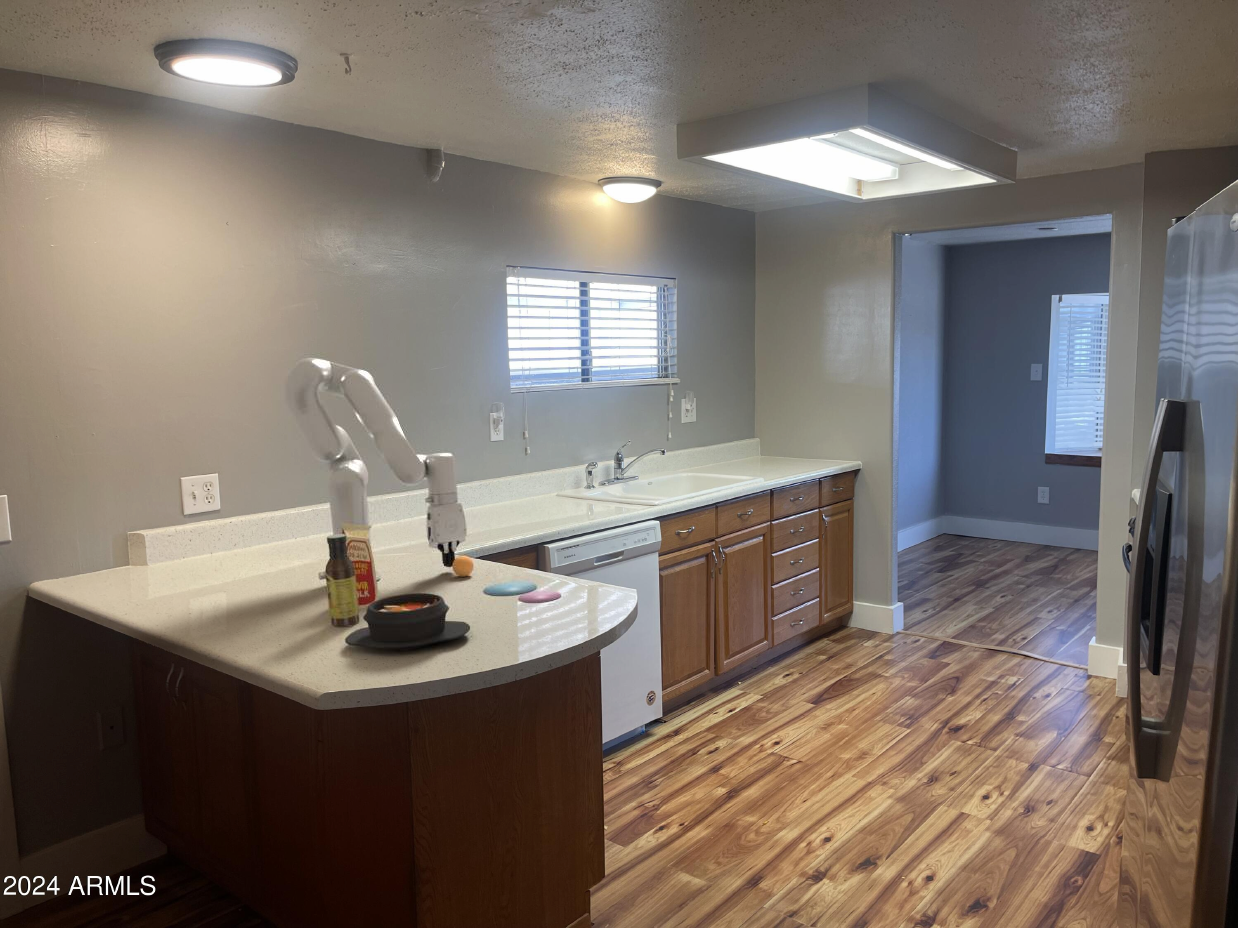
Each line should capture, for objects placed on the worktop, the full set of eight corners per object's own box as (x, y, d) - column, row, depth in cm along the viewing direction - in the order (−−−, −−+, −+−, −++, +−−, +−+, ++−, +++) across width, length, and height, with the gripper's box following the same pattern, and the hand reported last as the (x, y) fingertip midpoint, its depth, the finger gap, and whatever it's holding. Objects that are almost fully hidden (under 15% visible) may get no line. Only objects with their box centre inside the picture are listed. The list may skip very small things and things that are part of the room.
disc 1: (502, 598, 218) (502, 597, 218) (473, 590, 228) (473, 589, 228) (547, 587, 226) (547, 586, 226) (517, 579, 236) (517, 579, 236)
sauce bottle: (335, 620, 207) (327, 533, 205) (363, 618, 207) (355, 531, 205) (326, 628, 201) (317, 538, 198) (355, 627, 201) (346, 537, 198)
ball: (460, 579, 240) (458, 559, 239) (449, 576, 244) (447, 556, 243) (478, 575, 243) (476, 555, 243) (467, 572, 248) (465, 552, 247)
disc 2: (534, 604, 211) (534, 604, 211) (510, 597, 218) (510, 597, 218) (569, 595, 217) (569, 595, 217) (544, 589, 225) (544, 588, 225)
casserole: (476, 625, 197) (473, 587, 196) (463, 652, 178) (460, 610, 178) (359, 632, 197) (355, 594, 196) (334, 660, 178) (330, 618, 177)
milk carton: (344, 611, 215) (336, 526, 212) (337, 603, 223) (329, 521, 221) (383, 604, 219) (376, 521, 217) (374, 596, 227) (367, 516, 225)
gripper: (426, 504, 240) (432, 573, 242) (474, 496, 250) (480, 562, 252) (411, 502, 245) (417, 569, 247) (459, 494, 255) (465, 559, 257)
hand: (449, 566), depth 250 cm, fingers closed
